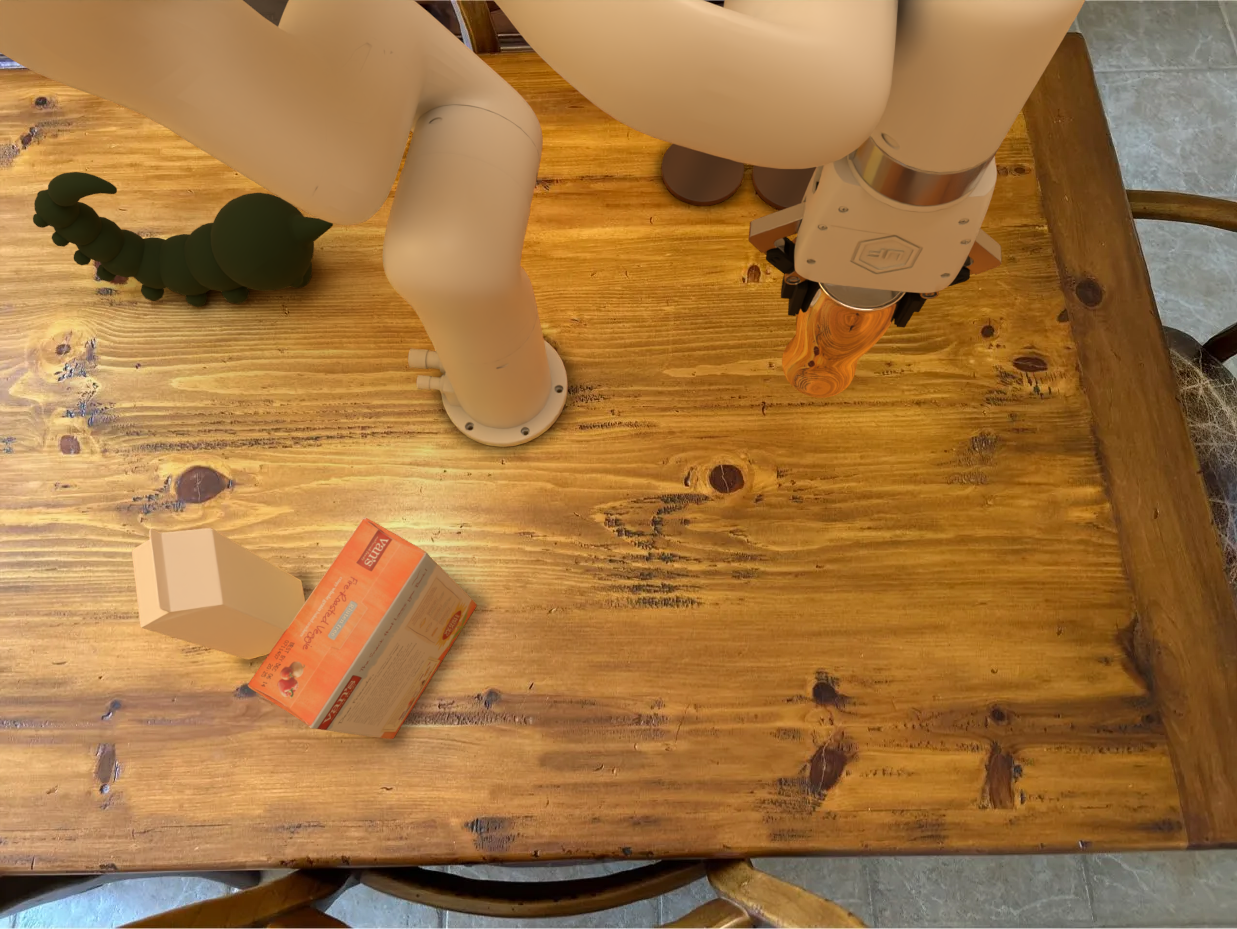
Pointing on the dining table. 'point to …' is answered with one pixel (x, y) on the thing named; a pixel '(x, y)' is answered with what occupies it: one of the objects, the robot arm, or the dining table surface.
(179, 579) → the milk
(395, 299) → the dining table surface
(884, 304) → the wood grain tumbler
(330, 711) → the cracker box
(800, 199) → the coaster
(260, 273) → the toy figurine
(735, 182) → the coaster
